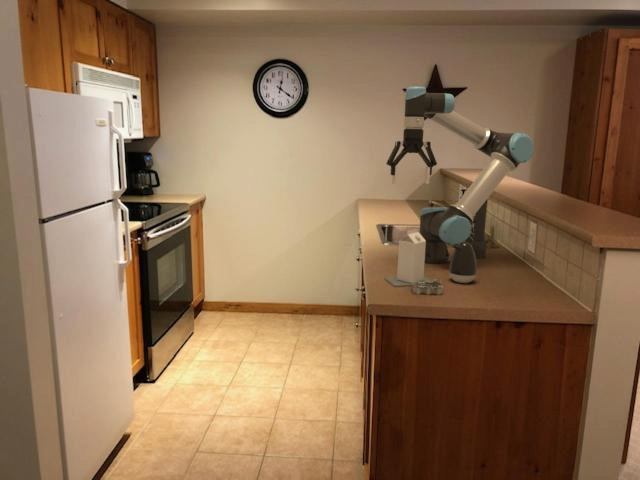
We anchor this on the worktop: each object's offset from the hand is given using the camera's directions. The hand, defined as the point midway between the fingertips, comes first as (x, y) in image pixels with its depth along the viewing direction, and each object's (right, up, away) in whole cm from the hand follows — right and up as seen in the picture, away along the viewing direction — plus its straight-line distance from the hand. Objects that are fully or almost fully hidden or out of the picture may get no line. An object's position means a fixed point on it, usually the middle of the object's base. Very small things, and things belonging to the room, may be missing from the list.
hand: (410, 183), depth 209 cm
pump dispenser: (+18, -38, -8) cm, 43 cm away
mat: (-2, -38, -11) cm, 39 cm away
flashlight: (+35, -30, +31) cm, 56 cm away
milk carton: (-2, -37, -11) cm, 39 cm away
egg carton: (+2, -41, -22) cm, 46 cm away
